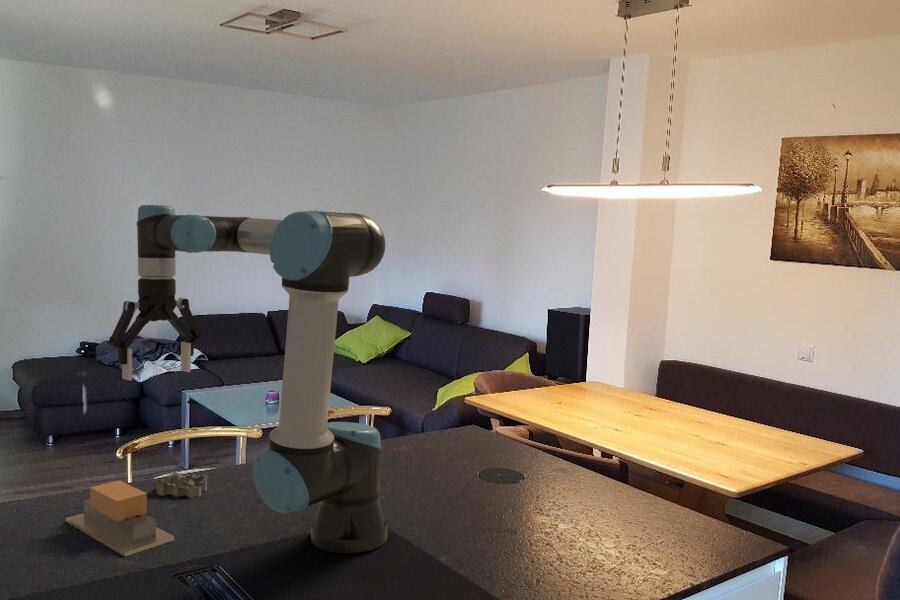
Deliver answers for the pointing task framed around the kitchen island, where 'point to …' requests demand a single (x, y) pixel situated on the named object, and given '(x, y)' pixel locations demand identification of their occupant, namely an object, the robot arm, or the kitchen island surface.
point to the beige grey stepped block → (120, 531)
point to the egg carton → (182, 485)
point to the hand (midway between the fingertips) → (157, 375)
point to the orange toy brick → (118, 500)
